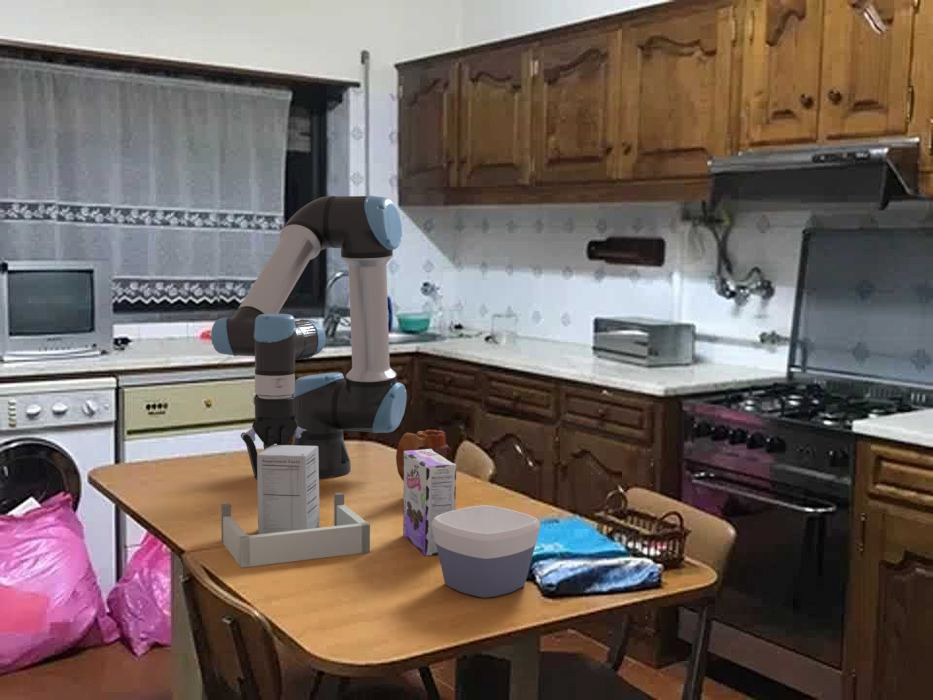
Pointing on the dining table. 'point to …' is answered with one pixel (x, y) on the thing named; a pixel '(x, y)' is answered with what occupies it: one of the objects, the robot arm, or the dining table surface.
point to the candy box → (426, 495)
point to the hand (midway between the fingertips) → (275, 517)
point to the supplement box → (288, 488)
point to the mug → (421, 445)
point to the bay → (297, 539)
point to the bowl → (485, 549)
